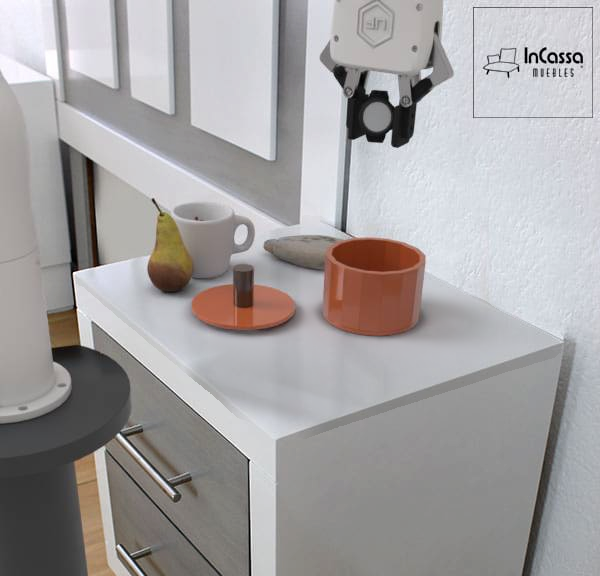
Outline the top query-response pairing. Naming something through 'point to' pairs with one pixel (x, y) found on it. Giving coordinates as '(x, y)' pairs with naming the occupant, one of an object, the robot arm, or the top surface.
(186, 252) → the fruit
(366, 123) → the smartwatch
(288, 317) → the lid
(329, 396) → the top surface
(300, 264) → the decorative stone
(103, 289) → the top surface
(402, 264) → the pot
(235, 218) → the cup
